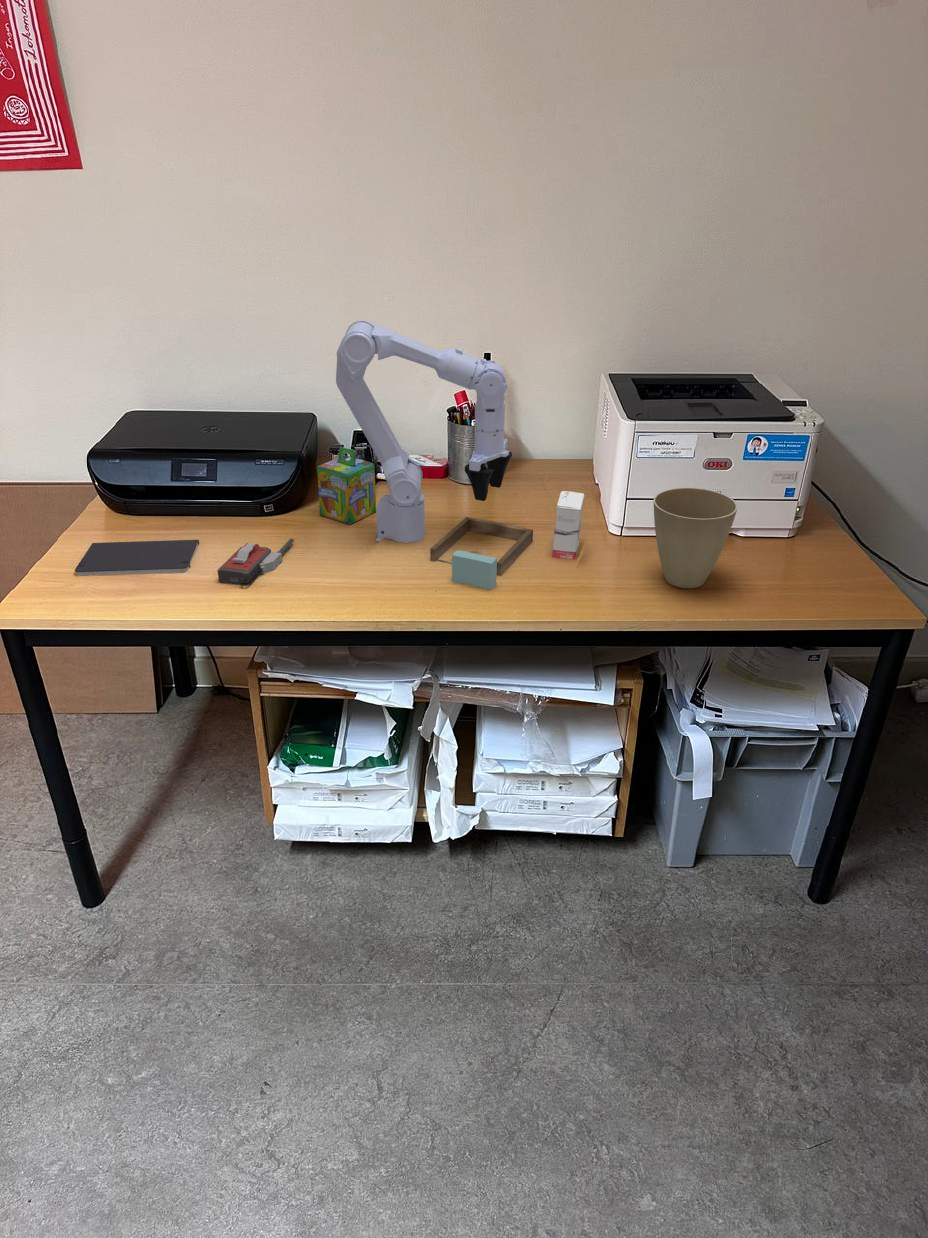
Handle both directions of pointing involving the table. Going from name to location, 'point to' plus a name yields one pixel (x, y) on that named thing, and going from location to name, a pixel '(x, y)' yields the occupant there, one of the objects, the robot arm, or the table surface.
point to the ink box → (568, 525)
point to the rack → (489, 528)
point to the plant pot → (691, 532)
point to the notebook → (137, 557)
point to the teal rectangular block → (474, 569)
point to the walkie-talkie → (250, 563)
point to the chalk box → (346, 488)
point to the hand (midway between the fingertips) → (488, 493)
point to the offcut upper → (476, 552)
